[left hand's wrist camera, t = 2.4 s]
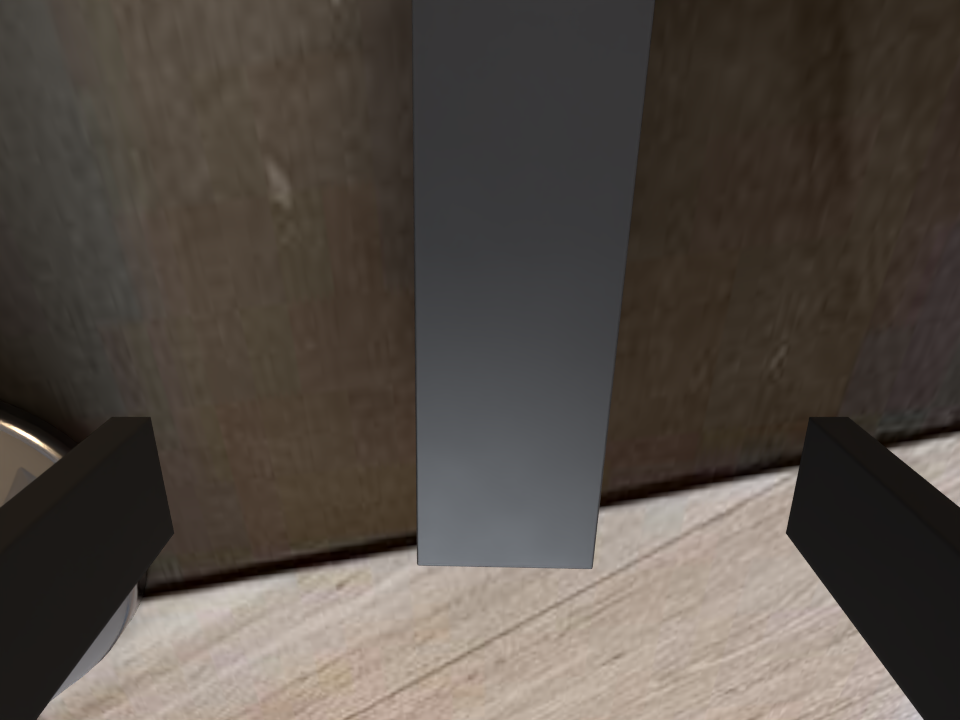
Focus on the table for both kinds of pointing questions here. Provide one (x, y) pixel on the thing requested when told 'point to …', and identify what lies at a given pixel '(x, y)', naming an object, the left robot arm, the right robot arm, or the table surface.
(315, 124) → the table surface
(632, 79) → the bar
